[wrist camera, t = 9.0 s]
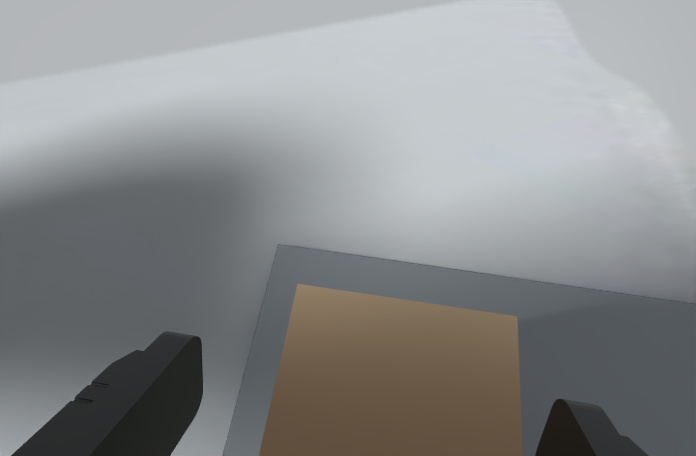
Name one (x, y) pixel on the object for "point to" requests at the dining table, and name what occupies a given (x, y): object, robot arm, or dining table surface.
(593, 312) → the felt mat
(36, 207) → the dining table surface
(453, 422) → the oak tile
